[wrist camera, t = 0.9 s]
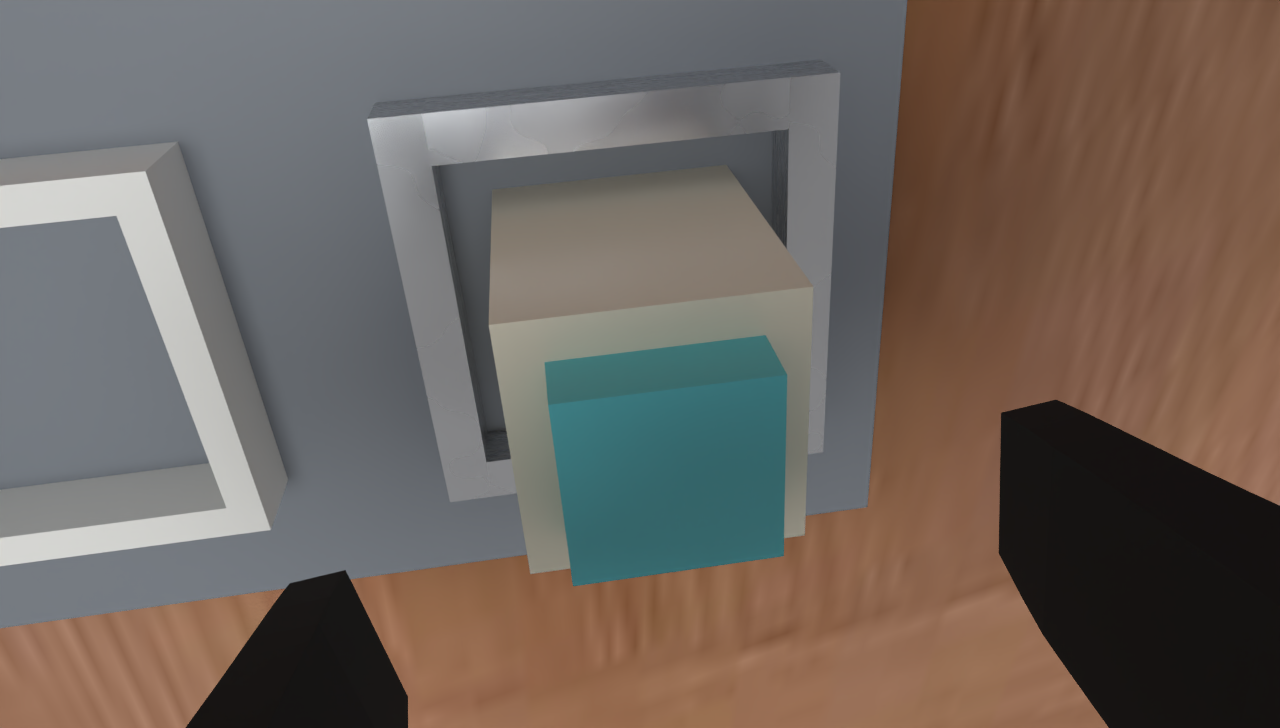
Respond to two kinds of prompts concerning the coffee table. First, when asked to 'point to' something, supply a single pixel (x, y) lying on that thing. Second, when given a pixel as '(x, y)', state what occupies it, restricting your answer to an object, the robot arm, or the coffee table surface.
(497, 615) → the coffee table surface
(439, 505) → the panel plate
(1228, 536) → the robot arm
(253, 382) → the port
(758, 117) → the frame
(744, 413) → the plug
